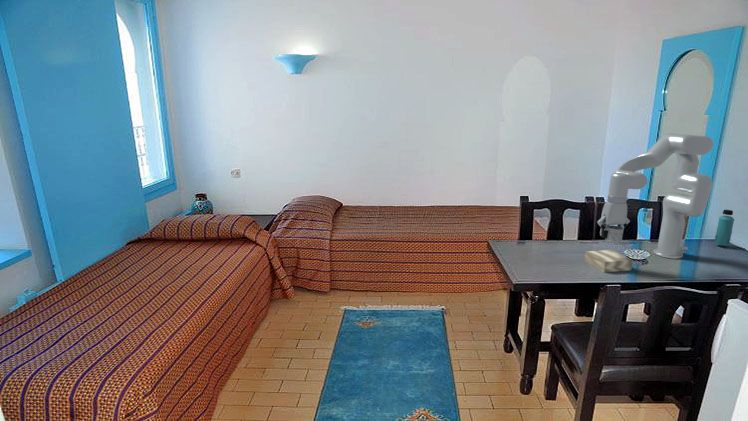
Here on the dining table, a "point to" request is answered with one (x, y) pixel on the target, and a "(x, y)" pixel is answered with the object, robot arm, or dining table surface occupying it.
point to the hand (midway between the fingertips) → (611, 237)
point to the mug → (614, 234)
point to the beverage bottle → (724, 228)
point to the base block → (608, 260)
